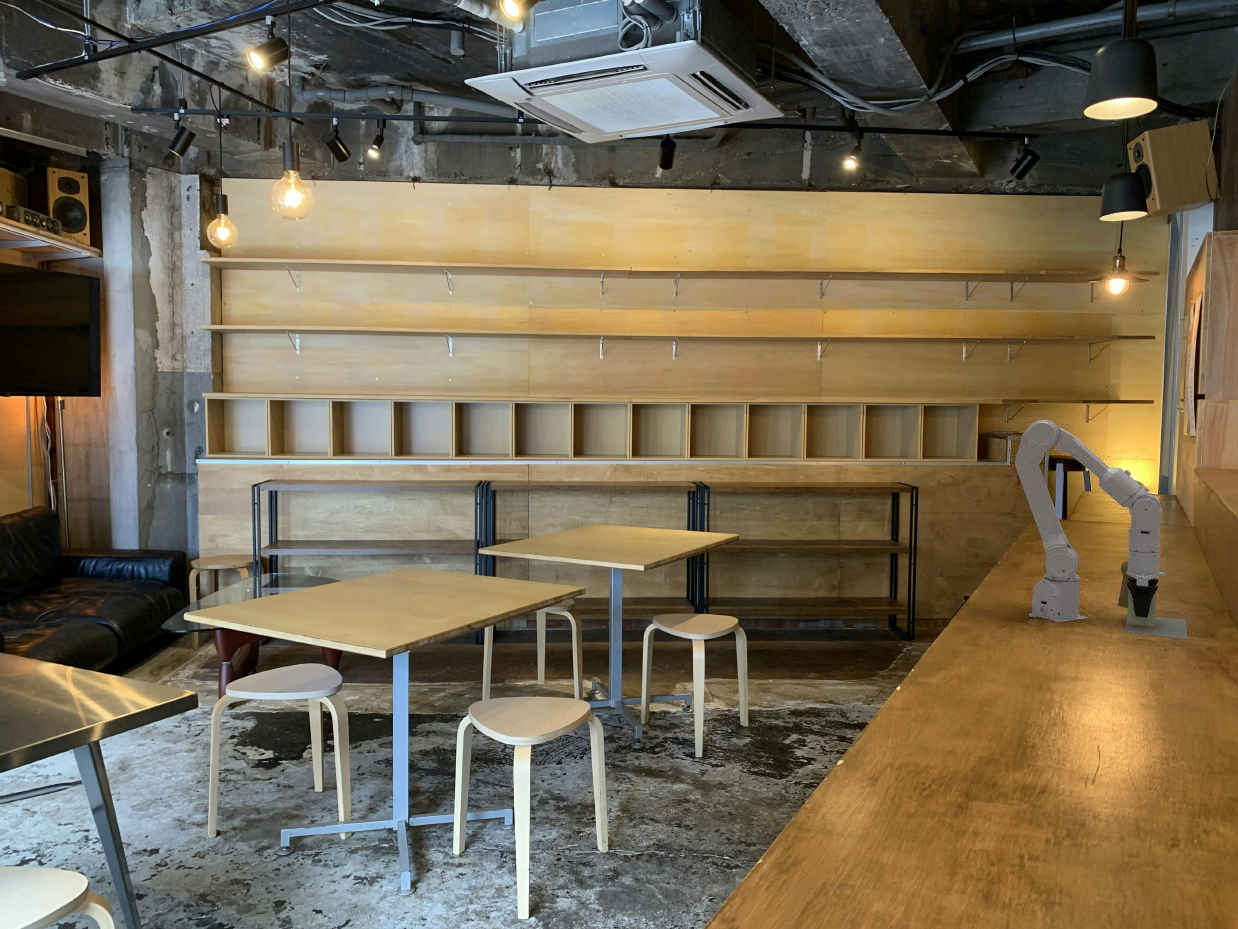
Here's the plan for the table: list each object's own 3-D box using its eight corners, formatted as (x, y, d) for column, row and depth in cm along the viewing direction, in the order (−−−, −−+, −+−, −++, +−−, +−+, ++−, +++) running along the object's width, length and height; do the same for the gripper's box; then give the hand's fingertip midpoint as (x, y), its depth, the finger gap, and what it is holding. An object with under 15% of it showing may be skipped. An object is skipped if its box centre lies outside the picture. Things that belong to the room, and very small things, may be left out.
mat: (1187, 642, 176) (1187, 639, 176) (1123, 635, 182) (1124, 632, 182) (1185, 622, 193) (1185, 619, 193) (1127, 616, 199) (1127, 613, 199)
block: (1154, 627, 186) (1156, 589, 186) (1127, 624, 189) (1128, 586, 188) (1155, 623, 190) (1156, 586, 189) (1128, 620, 192) (1129, 583, 192)
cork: (1139, 605, 210) (1141, 559, 209) (1152, 611, 204) (1154, 563, 203) (1112, 605, 210) (1114, 559, 210) (1124, 610, 204) (1126, 563, 204)
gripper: (1166, 557, 180) (1163, 623, 181) (1165, 547, 193) (1163, 610, 193) (1126, 554, 184) (1123, 619, 185) (1128, 545, 196) (1126, 606, 197)
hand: (1141, 614), depth 189 cm, fingers open, 5 cm apart
